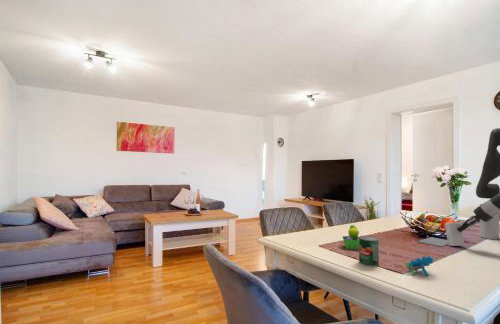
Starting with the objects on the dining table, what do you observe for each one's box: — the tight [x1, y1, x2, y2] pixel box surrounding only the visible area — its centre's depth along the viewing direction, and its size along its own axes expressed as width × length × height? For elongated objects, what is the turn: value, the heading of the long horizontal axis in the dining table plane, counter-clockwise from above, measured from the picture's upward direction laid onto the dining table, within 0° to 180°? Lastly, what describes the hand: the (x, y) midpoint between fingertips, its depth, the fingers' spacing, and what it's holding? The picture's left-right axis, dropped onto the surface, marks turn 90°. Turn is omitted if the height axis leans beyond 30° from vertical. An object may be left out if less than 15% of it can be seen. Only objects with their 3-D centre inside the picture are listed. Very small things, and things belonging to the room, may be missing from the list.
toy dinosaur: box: [404, 255, 434, 277], centre depth 108 cm, size 11×6×10 cm
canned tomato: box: [358, 235, 380, 267], centre depth 119 cm, size 8×8×11 cm
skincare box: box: [444, 222, 465, 247], centre depth 149 cm, size 6×4×12 cm
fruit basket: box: [341, 224, 360, 251], centre depth 143 cm, size 11×9×11 cm
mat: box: [417, 236, 449, 248], centre depth 156 cm, size 18×12×1 cm, turn 125°
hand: (458, 230), depth 147 cm, fingers closed
